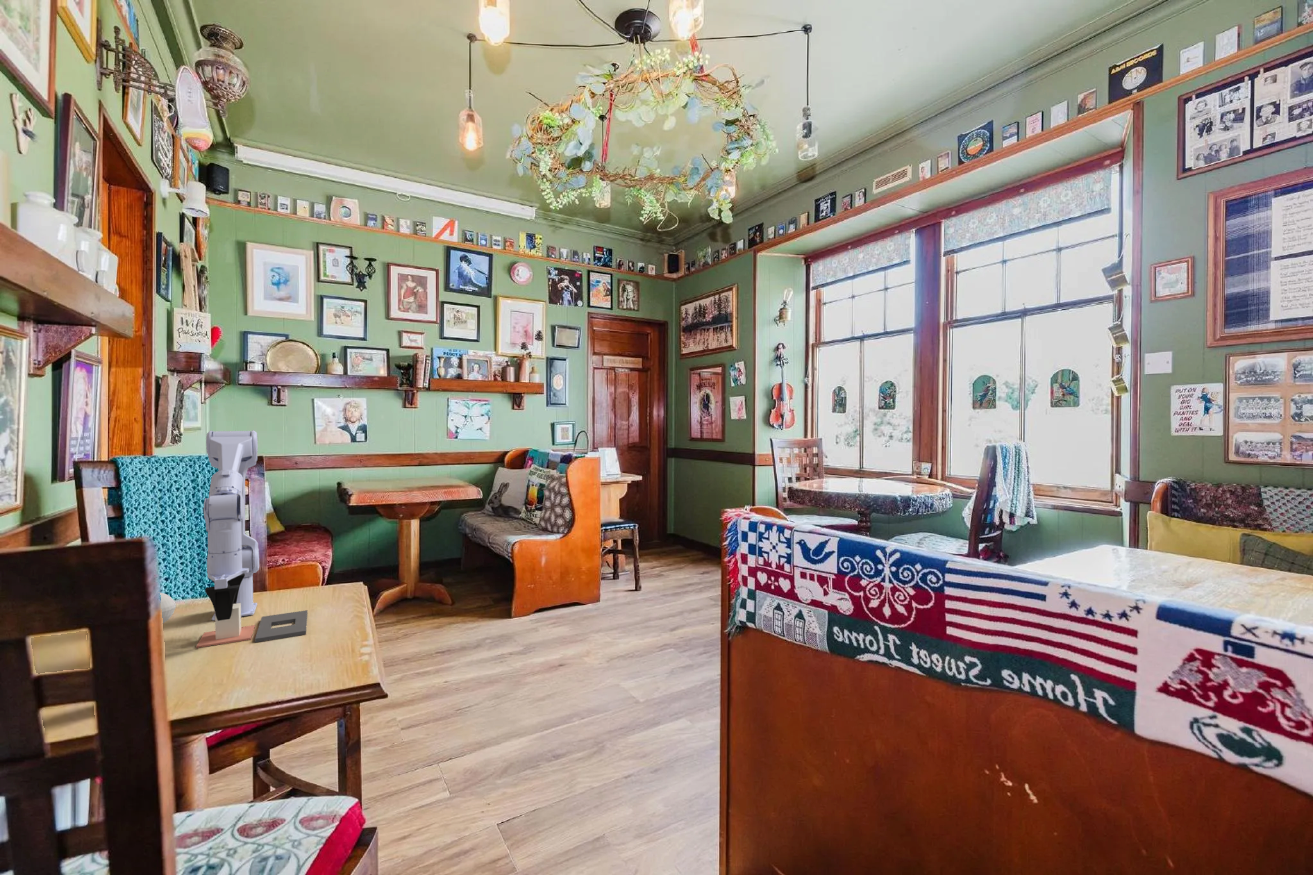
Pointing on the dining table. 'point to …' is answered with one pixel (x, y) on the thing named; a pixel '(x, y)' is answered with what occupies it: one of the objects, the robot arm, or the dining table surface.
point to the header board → (282, 632)
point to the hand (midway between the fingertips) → (226, 614)
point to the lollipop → (167, 606)
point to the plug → (229, 624)
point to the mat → (210, 638)
